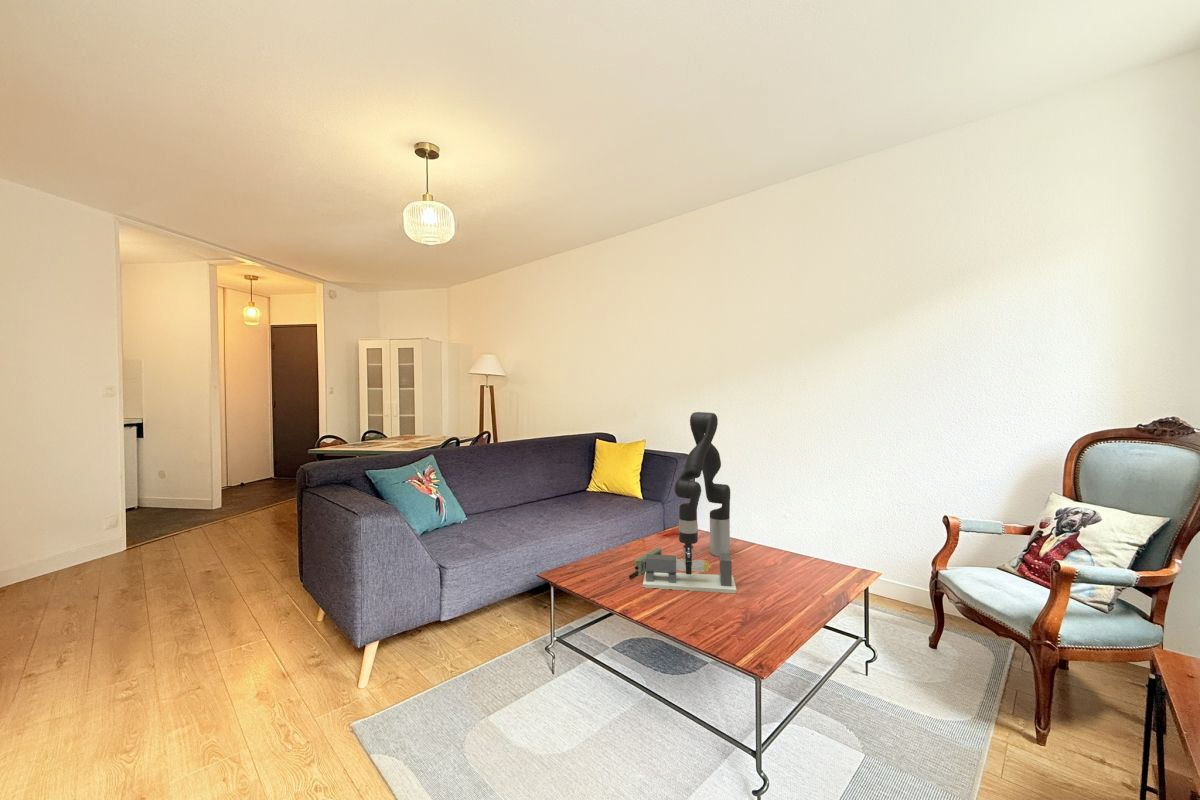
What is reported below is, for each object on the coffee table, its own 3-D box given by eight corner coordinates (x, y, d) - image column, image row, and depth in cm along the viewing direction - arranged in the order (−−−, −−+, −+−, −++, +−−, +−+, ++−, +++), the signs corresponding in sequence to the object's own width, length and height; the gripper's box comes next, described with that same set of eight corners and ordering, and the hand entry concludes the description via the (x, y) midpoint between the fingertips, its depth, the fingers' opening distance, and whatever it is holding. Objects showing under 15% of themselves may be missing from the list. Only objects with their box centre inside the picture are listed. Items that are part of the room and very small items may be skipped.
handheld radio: (663, 562, 217) (633, 580, 197) (656, 561, 219) (627, 579, 199) (662, 548, 217) (633, 564, 197) (656, 547, 219) (626, 563, 199)
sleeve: (647, 573, 200) (647, 553, 200) (676, 575, 198) (676, 554, 198) (645, 581, 192) (645, 559, 192) (676, 583, 190) (675, 561, 190)
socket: (719, 577, 195) (719, 553, 195) (729, 578, 194) (729, 553, 194) (721, 585, 187) (720, 560, 187) (731, 586, 186) (731, 560, 186)
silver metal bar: (649, 565, 197) (649, 557, 197) (708, 568, 193) (708, 560, 193) (648, 568, 194) (648, 560, 194) (709, 571, 190) (708, 563, 190)
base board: (645, 574, 203) (645, 570, 203) (732, 579, 197) (732, 575, 197) (642, 587, 189) (642, 584, 189) (736, 593, 183) (736, 589, 183)
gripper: (698, 535, 185) (698, 579, 185) (697, 525, 199) (697, 566, 199) (678, 534, 186) (679, 578, 187) (679, 524, 200) (679, 565, 201)
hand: (688, 572), depth 193 cm, fingers closed on silver metal bar, 3 cm apart
